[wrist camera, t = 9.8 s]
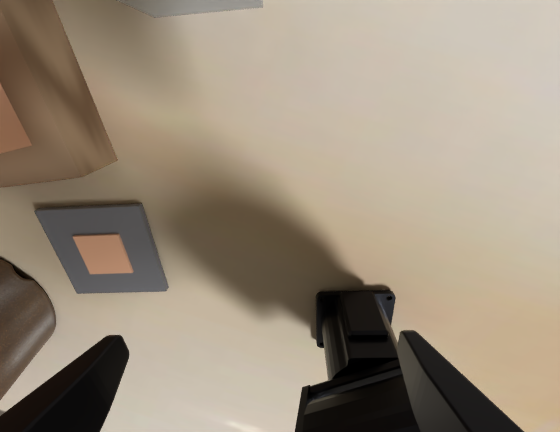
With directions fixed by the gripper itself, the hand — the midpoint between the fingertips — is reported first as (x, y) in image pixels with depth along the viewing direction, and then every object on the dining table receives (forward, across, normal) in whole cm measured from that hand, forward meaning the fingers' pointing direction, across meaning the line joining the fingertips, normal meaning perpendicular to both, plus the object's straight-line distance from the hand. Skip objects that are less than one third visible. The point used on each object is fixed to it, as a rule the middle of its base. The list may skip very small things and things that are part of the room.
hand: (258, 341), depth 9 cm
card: (+12, +14, +4) cm, 19 cm away
